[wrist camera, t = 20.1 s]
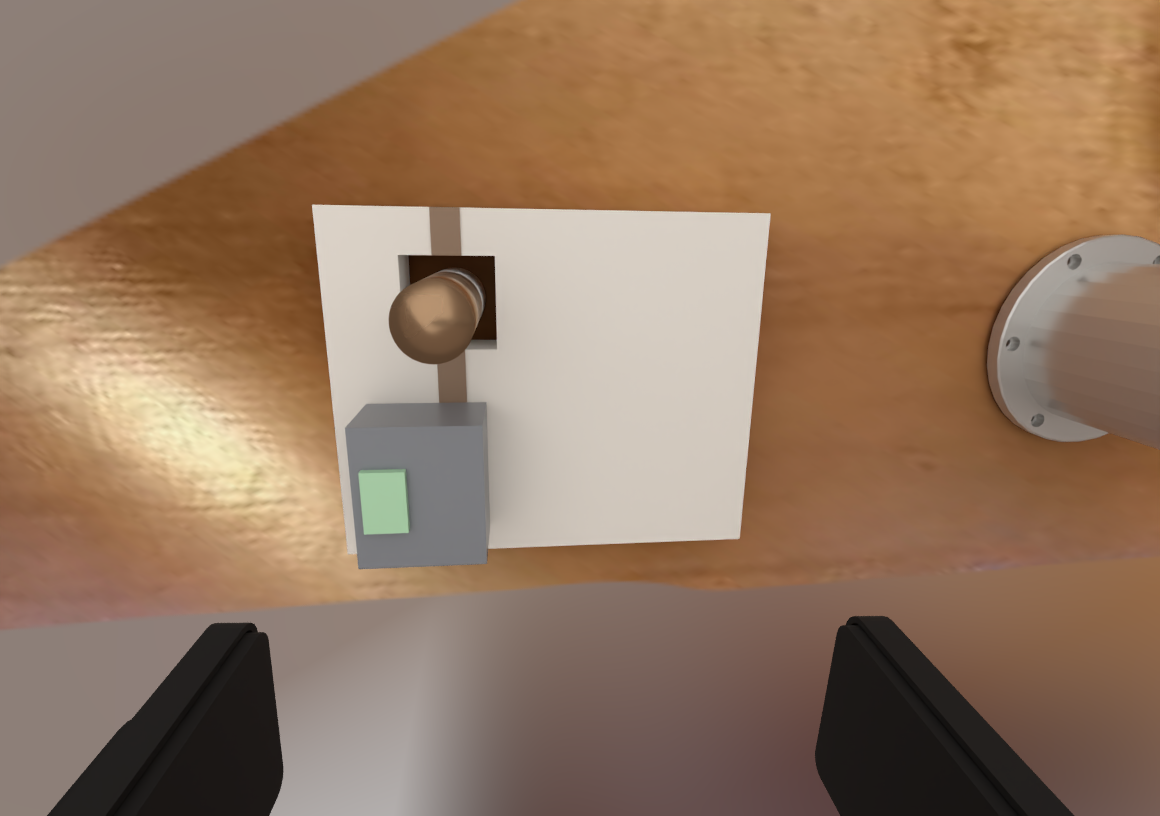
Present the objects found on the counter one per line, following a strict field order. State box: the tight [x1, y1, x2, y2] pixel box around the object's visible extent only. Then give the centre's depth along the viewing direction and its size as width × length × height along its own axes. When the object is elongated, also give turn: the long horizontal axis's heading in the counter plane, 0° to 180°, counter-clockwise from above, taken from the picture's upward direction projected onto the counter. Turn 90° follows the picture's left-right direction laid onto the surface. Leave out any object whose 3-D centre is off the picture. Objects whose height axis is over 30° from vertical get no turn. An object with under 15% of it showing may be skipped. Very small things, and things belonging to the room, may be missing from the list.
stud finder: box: [345, 402, 490, 569], centre depth 30 cm, size 6×7×4 cm
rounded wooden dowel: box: [389, 267, 486, 364], centre depth 28 cm, size 3×3×10 cm
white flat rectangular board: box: [312, 205, 770, 554], centre depth 33 cm, size 22×18×3 cm
